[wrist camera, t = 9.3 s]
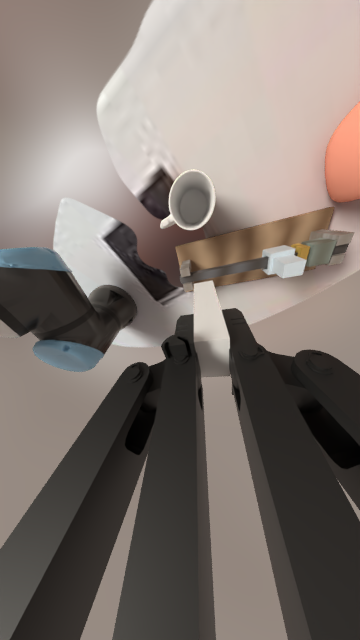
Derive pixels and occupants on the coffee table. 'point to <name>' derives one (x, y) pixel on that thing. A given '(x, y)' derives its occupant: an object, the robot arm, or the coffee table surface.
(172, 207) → the mug
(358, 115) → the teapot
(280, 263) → the white stepped block
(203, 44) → the coffee table surface
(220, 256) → the din rail terminal board
